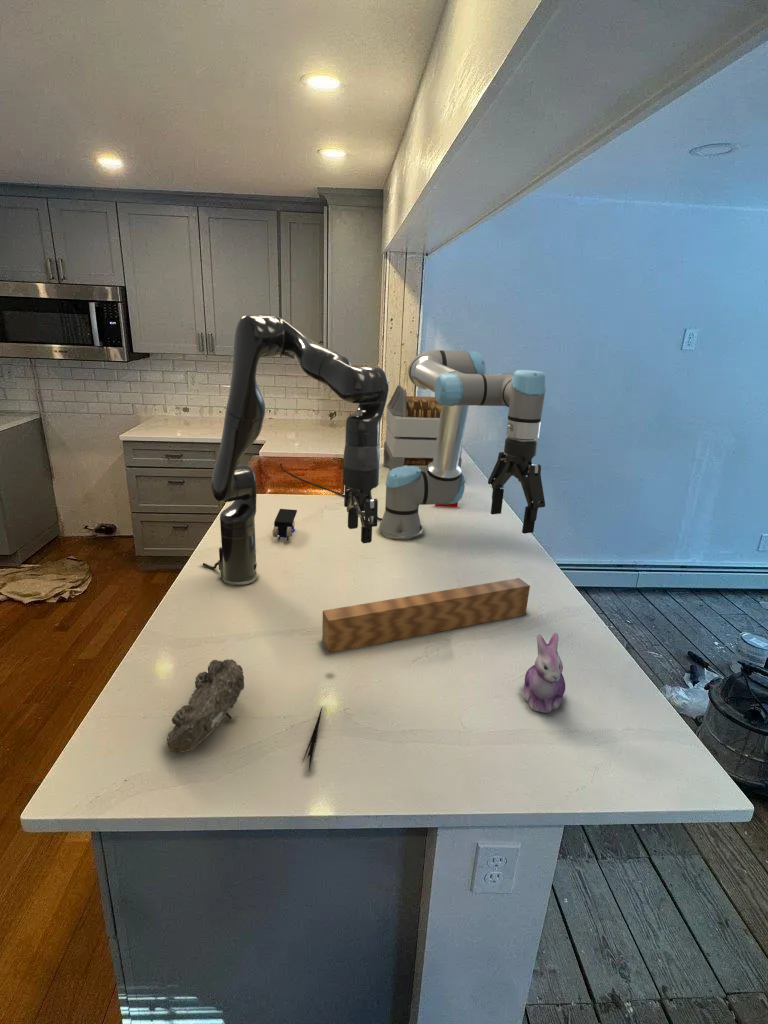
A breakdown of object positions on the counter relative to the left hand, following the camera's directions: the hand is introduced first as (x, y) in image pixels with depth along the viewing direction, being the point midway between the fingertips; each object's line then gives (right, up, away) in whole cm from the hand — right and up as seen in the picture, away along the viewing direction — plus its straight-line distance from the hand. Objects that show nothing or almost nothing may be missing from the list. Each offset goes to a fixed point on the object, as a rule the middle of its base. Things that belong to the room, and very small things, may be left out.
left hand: (359, 535), depth 125 cm
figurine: (+38, -34, -8) cm, 52 cm away
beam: (+17, -24, +17) cm, 34 cm away
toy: (+30, +12, +117) cm, 121 cm away
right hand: (+37, +2, +15) cm, 40 cm away
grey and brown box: (+23, +24, +150) cm, 154 cm away
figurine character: (-28, -3, +69) cm, 74 cm away
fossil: (-27, -34, -17) cm, 47 cm away
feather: (-7, -35, -16) cm, 39 cm away
